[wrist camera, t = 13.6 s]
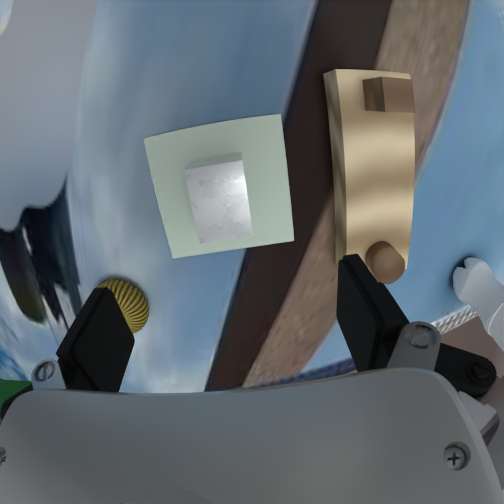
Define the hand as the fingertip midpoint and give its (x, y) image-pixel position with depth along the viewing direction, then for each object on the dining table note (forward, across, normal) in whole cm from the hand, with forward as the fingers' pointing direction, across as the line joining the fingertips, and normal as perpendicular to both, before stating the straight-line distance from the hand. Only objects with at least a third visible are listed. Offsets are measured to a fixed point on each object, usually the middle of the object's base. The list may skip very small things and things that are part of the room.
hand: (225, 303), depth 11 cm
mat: (+21, +1, +1) cm, 21 cm away
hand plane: (+21, -15, +1) cm, 25 cm away
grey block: (+20, +1, +1) cm, 20 cm away
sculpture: (+21, +17, +13) cm, 30 cm away
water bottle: (+21, -34, +18) cm, 43 cm away
